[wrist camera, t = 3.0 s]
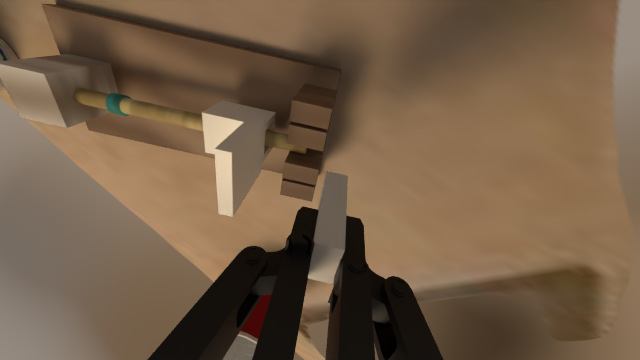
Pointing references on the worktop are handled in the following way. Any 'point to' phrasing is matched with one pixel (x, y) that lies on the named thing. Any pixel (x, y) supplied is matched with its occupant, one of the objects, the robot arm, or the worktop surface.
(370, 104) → the worktop surface
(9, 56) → the spray can
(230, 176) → the white l-shaped block
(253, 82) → the board
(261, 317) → the plastic cup
